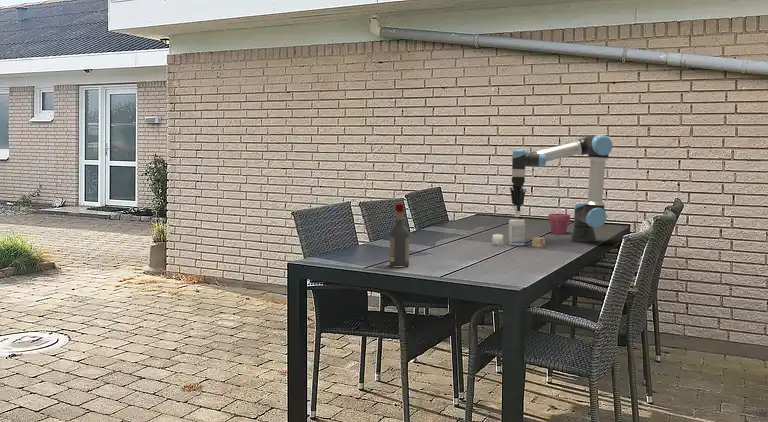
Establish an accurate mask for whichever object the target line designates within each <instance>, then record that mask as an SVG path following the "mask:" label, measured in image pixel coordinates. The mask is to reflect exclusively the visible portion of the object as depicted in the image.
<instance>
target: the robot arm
mask: <svg viewBox="0 0 768 422" xmlns="http://www.w3.org/2000/svg"><path fill="white" fill-rule="evenodd" d="M612 141H613V140H611V138H610V137H609V136H607V135H605V134H592V135H591V134H590V135H588V136H585V137H582V138H579V139H575V140H574V141H573V142H569V143H565V144H560V145H556V146H553V147H548V148H544V149H539V150H536V151H532V152H526V149H514V150H512V156H511V158H512V159H511V160H512V162H511V163H512V165H511V183H512V187H509V190H510V195H511V203H512V204H513V207H514V217H515V218H517V217H521V207H522V205H524V200H525V196H526V195H525V194H526V192H527V188H524V187H525V186H524V184H525V183H526V179H525V178H526V167H544V166H546V163H547V162H550V161H553V160H558V159H563V158H567V157H568V158H569V157H572V156H576V155H578V156H584V155H587V158H588V159H589V161H590V162H589V173H588V185H587V187H588V188H587V197H586V198H587V200H586V201H585V202H584V203H576V204H575V206H574V209H573V210H574V217H573V218H574V219H573V220H574V221H573V225H574V226H573V231H572V234H571V236H570V241H571V242H574V241H575V243H596V242H597V236H596V232H595V228H599V227H601V226H603V225H605V223H606V221H607V216H608V215H607V211H605V206H606V205H605V203H604V202H603V196H604V195H603V194H604V184H605V173H606V162H607V160H609V155H610V153H611V152H612V149H613V142H612ZM595 241H596V242H595Z"/></svg>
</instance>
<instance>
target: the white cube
mask: <svg viewBox="0 0 768 422" xmlns="http://www.w3.org/2000/svg"><path fill="white" fill-rule="evenodd" d="M492 246H495V247H496V246H498V247H500V246H504V234H501V233H495V234H494V233H493V234H492Z"/></svg>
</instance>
